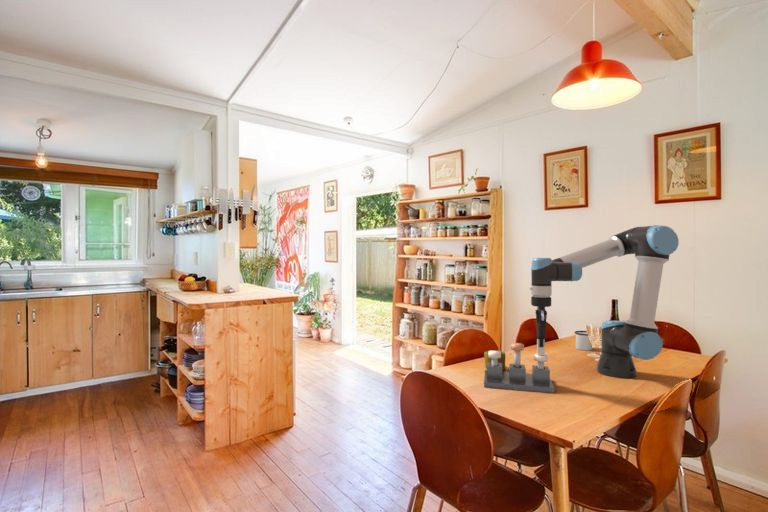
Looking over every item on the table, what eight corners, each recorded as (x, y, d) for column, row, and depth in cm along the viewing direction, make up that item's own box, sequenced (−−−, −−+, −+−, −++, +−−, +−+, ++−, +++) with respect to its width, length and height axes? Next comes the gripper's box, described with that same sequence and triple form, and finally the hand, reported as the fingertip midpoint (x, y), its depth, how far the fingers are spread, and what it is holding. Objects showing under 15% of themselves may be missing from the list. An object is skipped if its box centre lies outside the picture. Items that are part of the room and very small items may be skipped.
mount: (548, 379, 170) (548, 363, 169) (554, 393, 154) (554, 374, 154) (484, 374, 176) (485, 358, 176) (484, 387, 161) (484, 369, 161)
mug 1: (510, 369, 177) (503, 347, 180) (487, 375, 179) (480, 353, 182) (509, 367, 189) (502, 346, 191) (488, 372, 191) (481, 351, 193)
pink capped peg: (523, 367, 167) (523, 343, 167) (524, 371, 162) (524, 346, 162) (510, 366, 168) (510, 342, 168) (511, 370, 163) (511, 345, 163)
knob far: (500, 374, 169) (500, 351, 169) (500, 378, 165) (500, 354, 164) (488, 373, 171) (488, 350, 170) (488, 377, 166) (488, 353, 166)
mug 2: (588, 352, 214) (588, 335, 214) (570, 348, 222) (571, 332, 222) (599, 348, 221) (599, 332, 221) (582, 345, 229) (582, 329, 229)
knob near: (546, 378, 165) (546, 354, 164) (548, 382, 160) (548, 357, 160) (533, 377, 166) (533, 353, 166) (534, 381, 161) (534, 356, 161)
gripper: (529, 294, 169) (529, 350, 170) (532, 297, 157) (532, 358, 157) (549, 294, 167) (548, 351, 168) (553, 298, 155) (553, 359, 155)
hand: (540, 354), depth 163 cm, fingers closed
